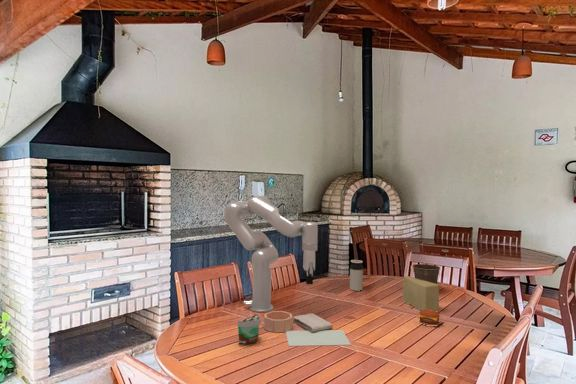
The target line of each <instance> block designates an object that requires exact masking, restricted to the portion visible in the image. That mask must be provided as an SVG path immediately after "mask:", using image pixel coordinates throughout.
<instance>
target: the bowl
mask: <svg viewBox="0 0 576 384" xmlns="http://www.w3.org/2000/svg"><path fill="white" fill-rule="evenodd" d="M263 318H264V320H263V321H264V322H263V323H264V324H263V329H264V330H265V331H266V332H270V333H274V334H278V333H279V334H281V333H283V334H284V333H286V331H292V329H293V314H292V313H291V312H289V311H288V312H287V311H284V310H271V311H268V312H264V317H263Z"/></svg>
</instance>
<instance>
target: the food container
mask: <svg viewBox="0 0 576 384" xmlns="http://www.w3.org/2000/svg"><path fill="white" fill-rule="evenodd" d="M261 323H262V321H261V317H260V315H259V314H257V313H254V315H253V316H249V317H246V318H245V319H243V320H241V321H240V320H238V321H237V324H236V326H237V328H238V329H237V330H238V345H241V346H250V345H254V344H256V343H258V341H259V340H258V339H259V332H260V331H259V330H260V324H261Z"/></svg>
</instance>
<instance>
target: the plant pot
mask: <svg viewBox="0 0 576 384" xmlns="http://www.w3.org/2000/svg"><path fill="white" fill-rule="evenodd" d="M412 269H413V273H414V278H416V279H420V280H423V281H428V282H431V283H435V284H438V280H439V275H440V269H441V266H438V265H434V264H428V263H427V264H425V263H415V264H412Z"/></svg>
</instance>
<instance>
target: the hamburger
mask: <svg viewBox="0 0 576 384" xmlns="http://www.w3.org/2000/svg"><path fill="white" fill-rule="evenodd" d="M418 314H419V315H418V316H417V318H419V321H418V322H420V323H422V324H425V325H438V324H439V325H440V322H439V321H440V317H441V314H440V313H439V311H438V312H436V311H434V310H430V309H424V310H422V311H420V310H419V313H418ZM420 323H419V324H420ZM422 324H421V325H422Z"/></svg>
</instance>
